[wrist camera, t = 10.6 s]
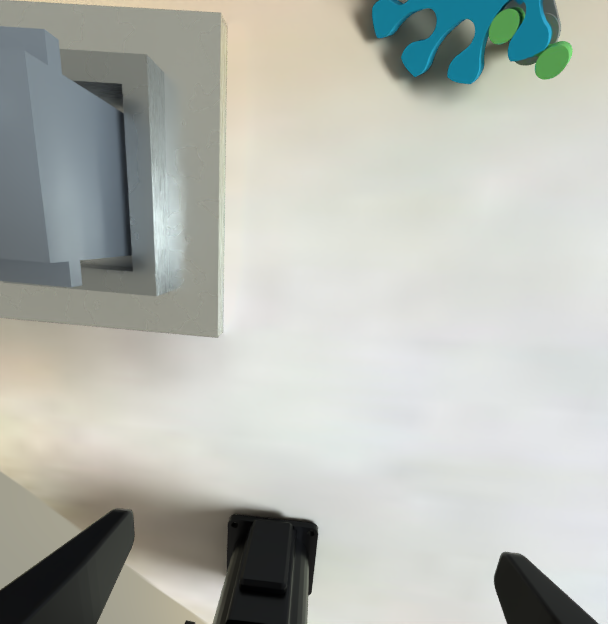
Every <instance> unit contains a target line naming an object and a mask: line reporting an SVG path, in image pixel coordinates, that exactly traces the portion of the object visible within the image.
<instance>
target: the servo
mask: <svg viewBox="0 0 608 624" xmlns="http://www.w3.org/2000/svg"><path fill="white" fill-rule="evenodd" d="M131 255H132V246H131V229H130V212H129V195H128V178H127V161H126V143H125V126H124V113H122V112H121V111H119V110H118V109H116V108H115V107H113V106H111V105H110V104H108V103H107V102H105V101H104V100H102V99H100V98H99V97H97V96H96V95H94V94H92V93H91V92H89V91H88V90H86V89H85V88H83V87H81V86H80V85H78V84H77V83H75V82H74V81H72V80H70V79H69V78H67V77H66V76H64V75H62V69H61V59H60V49H59V40H58V39H57V38H56V37H54V36H53V35H52V34H50V33H49V32H48V31H46V30H45V29H36V28H21V27H6V26H0V281H7V282H17V283H28V284H39V285H50V286H61V287H76V286H81V285H82V277H81V266H80V260H89V259H99V258H110V257H120V256H131Z"/></svg>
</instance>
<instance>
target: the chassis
mask: <svg viewBox="0 0 608 624" xmlns="http://www.w3.org/2000/svg"><path fill="white" fill-rule="evenodd" d="M0 26H6V27H21V28H36V29H45V30H46V31H48V32H49V33H50V34H52V35H53V36H54V37H56V38H57V39H58V40H59V49H60V59H61V69H62V75H64V76H66V77H67V78H69V79H70V80H72V81H74V82H75V83H77V84H78V85H80V86H81V87H83V88H85V89H86V90H88V91H89V92H91V93H92V94H94V95H96V96H97V97H99V98H100V99H102V100H104V101H105V102H107V103H108V104H110V105H111V106H113V107H115V108H116V109H118V110H119V111H121V112H122V113H124V126H125V143H126V161H127V178H128V195H129V212H130V229H131V246H132V255H131V256H120V257H110V258H99V259H89V260H80V266H81V277H82V285H81V286H76V287H61V286H50V285H39V284H28V283H17V282H7V281H0V318H9V319H20V320H31V321H42V322H52V323H63V324H74V325H85V326H96V327H107V328H117V329H128V330H139V331H150V332H161V333H172V334H182V335H193V336H204V337H215V338H218V337H219V336H220V335H221V334H222V333H223V292H224V222H225V152H226V82H227V25H226V23H225V21H224V19H223V16H222V14H221V13H217V12H199V11H182V10H165V9H148V8H131V7H113V6H96V5H79V4H62V3H45V2H28V1H10V0H0Z"/></svg>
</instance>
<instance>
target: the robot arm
mask: <svg viewBox="0 0 608 624" xmlns="http://www.w3.org/2000/svg"><path fill="white" fill-rule="evenodd" d="M235 522H236V523H235ZM134 536H135V534H134V520H133V512H132V511H131V510H128V509H119V508H118V509H114V510H112V511H110V512H109V513H107V514H106V515H105V516H103V517H102V518H100V519H99V520H98V521H96V522H95V523H93V524H92V525H91V526H89V527H88V528H86V529H85V530H84V531H82V532H81V533H79V534H78V535H77V536H75V537H74V538H72V539H71V540H70V541H68V542H67V543H65V544H64V545H63V546H62V547H60V548H58V549H57V550H56V551H54V552H53V553H52V554H50V555H49V556H47V557H46V558H44V559H43V560H42V561H40V562H39V563H37V564H36V565H35V566H33V567H32V568H30V569H29V570H28V571H26V572H25V573H24V574H22V575H21V576H19V577H18V578H16V579H15V580H14V581H12V582H11V583H9V584H8V585H7V586H5V587H4V588H2V589H1V590H0V624H97V622H98V619H99V617H100V615H101V613H102V611H103V609H104V607H105V605H106V602H107V600H108V598H109V596H110V593H111V591H112V589H113V587H114V585H115V583H116V580H117V578H118V576H119V574H120V572H121V569H122V567H123V565H124V563H125V561H126V559H127V556H128V554H129V552H130V550H131V548H132V545H133V542H134ZM317 539H318V527H317V525H316V524H314V523H308V522H298V521H289V520H280V519H271V518H262V517H253V516H244V515H232V516H231V517H230V519H229V522H228V544H227V574H226V578H225V581H224V585H223V588H222V592H221V596H220V599H219V603H218V606H217V610H216V614H215V617H214V621H213V624H307V615H308V595H310V594H311V592H312V583H313V574H314V565H315V557H316V548H317ZM494 585H495V589H496V592H497V595H498V598H499V601H500V604H501V607H502V610H503V613H504V616H505V619H506V622H507V624H598V623H597V622H596V621H595V620H594V619H593V618H592V617H591V616H590V615H589V614H587V613H586V612H585V611H584V610H583V609H582V608H581V607H580V606H579V605H578V604H576V603H575V602H574V601H573V600H572V599H571V598H570V597H569V596H568V595H567V594H565V593H564V592H563V591H562V590H561V589H560V588H559V587H558V586H557V585H556V584H554V583H553V582H552V581H551V580H550V579H549V578H548V577H547V576H546V575H545V574H543V573H542V572H541V571H540V570H539V569H538V568H537V567H536V566H535V565H534V564H532V563H531V562H530V561H529V560H528V559H527V558H526V557H524V556H523V555H521V554H519V553H511V552H503V553H502V554H501V556H500V559H499V562H498V565H497V569H496V572H495V575H494ZM185 624H195V622H191V621H186V622H185Z"/></svg>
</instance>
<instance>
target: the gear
mask: <svg viewBox="0 0 608 624" xmlns="http://www.w3.org/2000/svg"><path fill="white" fill-rule="evenodd" d="M427 8H430V9H432V10H433V11H434V12H435V14H436V17H437V23H436V28H435V30H434V32H433V34H432V35H431V36H430V37H429V38H427V39H423V40H419V41H416V42H413V43H411V44H409V45H408V46H407V47H406V48H405V50H404V51H403V53H402V56H401V59H402V62H403V64H404V66H405V67H406V69H407V70H408V71H409V72H410V73H411V74H412V75H413V76H414V77H416V76H418V75H420V74H423V73H425V72H426V71H427V70H428V69H429V68H430V66H431V64H432V63H433V60H434V57H435V54H436V52H437V50H438V48H439V46H440V44H441V43H442V41H443V40H444V39H445V37H446V36H447V35H448V34H449V33H450V32H451V31H452V30H453V29H454V28H455V27H456V26H457V25H459V24H460V23H461V22H462V21H464V20H465V19H469V20H471V21H472V22H473V23H474V26H475V36H474V39H473V41H472V43H471V44H470V45H469V46H468V47H467V48H466V49H465V50H464V51H462V52H461V53H460V54H458V55H457V56H456V57H455V58H454V59H453V60H452V62H451V64H450V65H449V68H448V73H447V77H448V78H449V79H450V80H452V81H455V82H458V83H464V84H471V83H473V82H474V81H476V80H477V79H478V78H479V76H480V75H481V73H482V71H483V68H484V53H485V47H486V43H487V39H488V37H489V38H490V40H491V41H492V42H493V43H494V44H503V43H505V42H507V41H508V42H509V47H508V57H509V60H510V61H515V62H516V63H517V64H520V65H531V64H534V63H536V64H535V73H536V75H537V76H538V77H539V78H541V79H550V78H553V77H555V76H557V75H558V74H559V73H560V72H561V71H562V70H563V69H564V68H565V67H566V65H567V64H568V62H569V60H570V58H571V56H572V46H571V45H570V44H569V43H568V42H565V41H560V42H557V41H558V38H559V36H560V31H561V23H560V19H559V15H558V11H557V7H556V3H555V0H408V1H407V2H406V3H404V4H403V3H401V2H400V1H398V0H379V1H377V2H376V3H375V4H374V6H373V7H372V18H373V25H374V29H375V33H376V36H377V38H383V37H388V36H391V35H393V34H394V33H395V32H396V31H397V30H398V29H399V27H400V26H401V24H402V23H403V22H404V21H405V20H406V19H407V18H408V17H410V16H411V15H412V14H414V13H416V12H417V11H420V10H423V9H427Z"/></svg>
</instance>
